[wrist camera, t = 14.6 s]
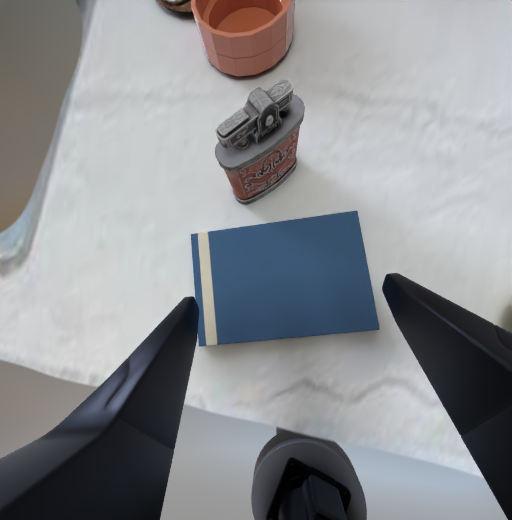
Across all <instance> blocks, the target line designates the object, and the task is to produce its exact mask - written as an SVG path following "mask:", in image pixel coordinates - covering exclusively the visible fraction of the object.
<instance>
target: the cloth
mask: <svg viewBox="0 0 512 520" xmlns="http://www.w3.org/2000/svg"><path fill="white" fill-rule="evenodd" d="M191 243H192V257H193V271H194V285H195V298H196V302H197V304H198V306H199V322H198V339H199V346H209V345H219V344H230V343H240V342H251V341H262V340H273V339H283V338H294V337H305V336H315V335H326V334H337V333H348V332H358V331H369V330H379V324H378V318H377V313H376V308H375V302H374V297H373V292H372V287H371V281H370V276H369V271H368V265H367V260H366V255H365V249H364V244H363V239H362V234H361V228H360V223H359V218H358V212H357V211H352V212H345V213H338V214H331V215H324V216H317V217H309V218H302V219H295V220H288V221H281V222H274V223H267V224H260V225H253V226H246V227H239V228H232V229H225V230H218V231H211V232H203V233H196V234H191Z"/></svg>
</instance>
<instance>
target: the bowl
mask: <svg viewBox="0 0 512 520" xmlns="http://www.w3.org/2000/svg"><path fill="white" fill-rule="evenodd" d="M294 5H295V0H191V9H192V12H193V15H194V18H195V22H196V25H197V28H198V31H199V35H200V38H201V41H202V44H203V48H204V50H205V53H206V55H207V57H208V60H209V62H210V63H212V64H213V65H214V66H215V67H216V68H218V69H219V70H220V71H221V72H224V73H227V74H231V75H234V76H247V75H256V74H258V73H260V72H263V71H265V70H267V69H269V68H272V67H273V66H274V65H275V64H276V63H277V62H278V61H279V60H280V59H281V58H282V57H283V56H284V55H285V54H286V52H287V50H288V48H289V45H290V43H291V41H292V37H293V21H294Z"/></svg>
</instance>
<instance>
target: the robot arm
mask: <svg viewBox="0 0 512 520" xmlns="http://www.w3.org/2000/svg"><path fill="white" fill-rule="evenodd" d="M382 290H383V293H384V296H385V298H386V300H387V303H388V305H389V307H390V310H391V312H392V314H393V317H394V319H395V321H396V323H397V325H398V327H399V329H400V330H401V332H402V334H403V336H404V337H405V339H406V341H407V343H408V344H409V346H410V348H411V350H412V351H413V353H414V355H415V357H416V358H417V360H418V362H419V364H420V365H421V367H422V369H423V371H424V372H425V374H426V376H427V378H428V379H429V381H430V383H431V385H432V386H433V388H434V390H435V392H436V394H437V395H438V397H439V399H440V401H441V402H442V404H443V406H444V408H445V409H446V411H447V413H448V415H449V416H450V418H451V420H452V422H453V423H454V425H455V427H456V429H457V430H458V432H459V434H460V435H461V438H462V440H463V441H464V443H465V445H466V447H467V448H468V450H469V452H470V454H471V455H472V457H473V459H474V461H475V462H476V464H477V466H478V468H479V469H480V471H481V473H482V475H483V476H484V478H485V480H486V482H487V483H488V485H489V487H490V489H491V490H492V492H493V494H494V496H495V497H496V499H497V501H498V503H499V505H500V506H501V508H502V510H503V512H504V513H505V515H506V517H507V518H508V520H512V333H510V332H508V331H506V330H504V329H502V328H500V327H498V326H497V325H494V324H493V323H491V322H489V321H487V320H485V319H483V318H481V317H479V316H478V315H476V314H474V313H472V312H470V311H468V310H466V309H464V308H462V307H461V306H459V305H457V304H455V303H453V302H451V301H449V300H447V299H445V298H443V297H442V296H440V295H438V294H436V293H434V292H432V291H430V290H428V289H426V288H425V287H423V286H421V285H419V284H417V283H415V282H413V281H411V280H409V279H408V278H406V277H404V276H402V275H400V274H398V273H391V274H387V275H386V276H385V280H384V283H383V286H382ZM198 322H199V306H198V304H197V302H196V300H195V298H194V297H192V296H191V297H185V298H184V299H183V300H182V301H181V302H180V303H179V304H178V305H177V306H176V307H175V308H174V309H173V310H172V311H171V312H170V313H169V314H168V316H167V317H166V318H165V319H164V320H163V321H162V322H161V323H160V324H159V325H158V326H157V327H156V328H155V329H154V330H153V331H152V333H151V334H150V335H149V336H148V337H147V338H146V339H145V340H144V341H143V342H142V343H141V344H140V345H139V346H138V347H137V348H136V350H135V351H134V352H133V353H132V354H131V355H130V356H129V357H128V359H126V360H125V361H124V362H123V363H122V364H121V365H120V366H119V367H118V369H117V370H116V371H115V372H114V373H113V374H112V375H111V376H110V377H109V378H108V379H107V380H106V381H105V382H104V383H103V384H102V385H100V386H99V387H98V388H97V389H96V390H95V391H94V392H93V393H92V394H91V395H90V396H89V397H88V398H87V399H86V400H85V401H84V402H82V403H81V404H80V405H79V406H78V407H77V408H76V409H75V410H74V411H73V412H72V413H71V414H70V415H69V416H68V417H66V418H65V419H64V420H63V421H62V422H61V423H60V424H59V425H58V426H56V427H55V428H54V429H52V430H51V431H50V432H48V433H47V434H45V435H44V436H42V437H41V438H39V439H37V440H35V441H33V442H32V443H30V444H28V445H26V446H24V447H22V448H20V449H18V450H16V451H14V452H12V453H10V454H9V455H7V456H5V457H3V458H1V459H0V520H160V516H161V511H162V507H163V502H164V496H165V492H166V487H167V482H168V477H169V473H170V468H171V463H172V458H173V453H174V448H175V443H176V439H177V433H178V429H179V424H180V419H181V414H182V410H183V405H184V400H185V395H186V390H187V386H188V381H189V376H190V371H191V366H192V362H193V357H194V352H195V347H196V342H197V333H198ZM291 463H294V465H290V464H291ZM344 493H347V494H346V495H344ZM350 500H351V493H350V490H349V489H348V488H347V487H346V486H344V485H342V484H341V483H339V482H337V481H335V479H333V478H332V477H330V476H328V475H326V474H324V473H322V472H321V471H319V470H317V469H315V468H313V467H310V466H308V465H306V464H304V463H303V462H301V461H299V460H297V459H295V458H293V457H290V458H289V459H288V460H287V463H286V465H285V468H284V471H283V473H282V476H281V478H280V481H279V483H278V486H277V489H276V491H275V494H274V496H273V499H272V501H271V504H270V506H269V509H268V512H267V514H266V520H270V518H271V519H273V520H347V518H346V511H347V509H348V506H349V503H350Z"/></svg>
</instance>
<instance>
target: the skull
mask: <svg viewBox="0 0 512 520" xmlns="http://www.w3.org/2000/svg"><path fill="white" fill-rule="evenodd" d="M157 1H158V2H159V3H160V4H161V5H162V6H164V7H165V8H168V9H170V10H174V11H182V12H183V11H187V12H189V11H191V12H192V9H191V0H157Z"/></svg>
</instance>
